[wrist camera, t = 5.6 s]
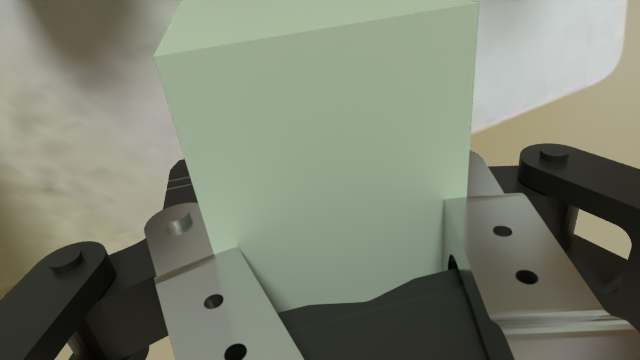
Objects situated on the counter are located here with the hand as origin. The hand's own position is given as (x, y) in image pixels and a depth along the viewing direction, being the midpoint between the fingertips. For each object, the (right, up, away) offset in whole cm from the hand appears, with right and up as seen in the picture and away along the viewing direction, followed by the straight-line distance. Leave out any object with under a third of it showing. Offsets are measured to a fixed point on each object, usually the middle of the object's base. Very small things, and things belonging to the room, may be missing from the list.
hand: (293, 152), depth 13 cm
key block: (-1, +1, +2) cm, 3 cm away
